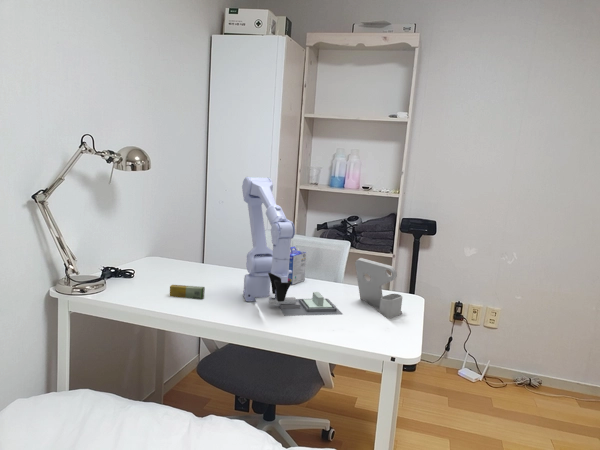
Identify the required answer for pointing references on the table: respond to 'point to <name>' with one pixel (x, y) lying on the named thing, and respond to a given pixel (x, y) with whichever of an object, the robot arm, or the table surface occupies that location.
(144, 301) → the table surface
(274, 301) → the brushed metal bar
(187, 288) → the medication box
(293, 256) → the ink cartridge box
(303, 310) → the panel
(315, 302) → the cover
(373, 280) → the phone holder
